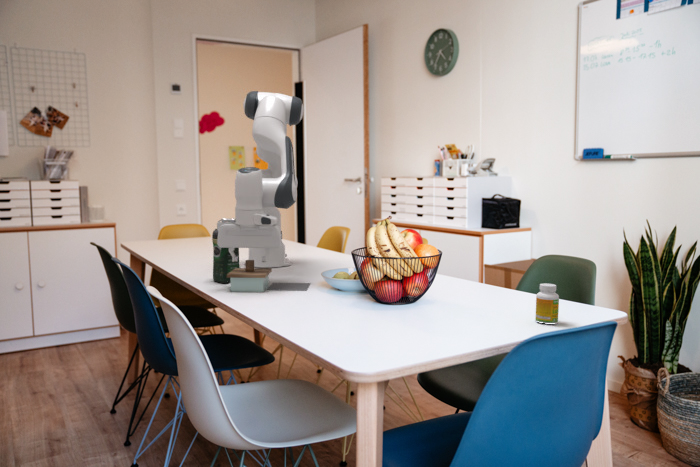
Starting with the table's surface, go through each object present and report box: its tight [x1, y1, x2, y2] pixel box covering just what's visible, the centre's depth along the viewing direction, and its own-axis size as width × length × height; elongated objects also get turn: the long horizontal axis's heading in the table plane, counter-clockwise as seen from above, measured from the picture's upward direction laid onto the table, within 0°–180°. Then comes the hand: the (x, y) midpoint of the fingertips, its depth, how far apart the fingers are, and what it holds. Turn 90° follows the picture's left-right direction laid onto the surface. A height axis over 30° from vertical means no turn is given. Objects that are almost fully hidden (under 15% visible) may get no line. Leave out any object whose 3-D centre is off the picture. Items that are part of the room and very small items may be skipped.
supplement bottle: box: [535, 282, 560, 324], centre depth 145 cm, size 5×5×10 cm
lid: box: [227, 259, 272, 278], centre depth 183 cm, size 12×12×4 cm
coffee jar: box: [211, 228, 241, 284], centre depth 198 cm, size 10×8×19 cm
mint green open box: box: [230, 274, 270, 293], centre depth 184 cm, size 10×10×5 cm
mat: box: [266, 282, 312, 292], centre depth 188 cm, size 13×13×1 cm
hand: (249, 261), depth 183 cm, fingers open, 8 cm apart
